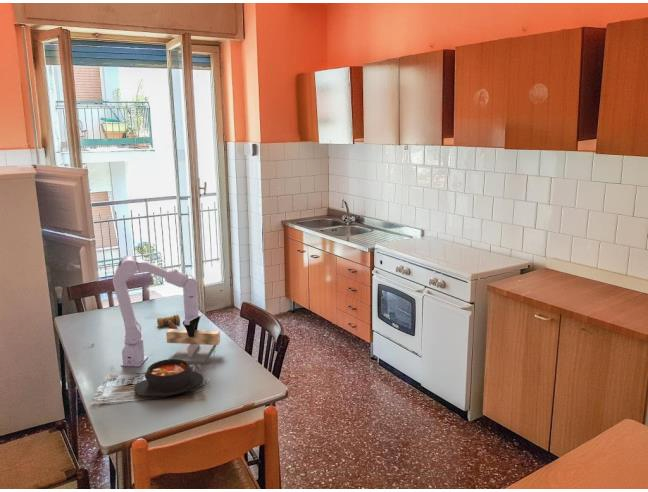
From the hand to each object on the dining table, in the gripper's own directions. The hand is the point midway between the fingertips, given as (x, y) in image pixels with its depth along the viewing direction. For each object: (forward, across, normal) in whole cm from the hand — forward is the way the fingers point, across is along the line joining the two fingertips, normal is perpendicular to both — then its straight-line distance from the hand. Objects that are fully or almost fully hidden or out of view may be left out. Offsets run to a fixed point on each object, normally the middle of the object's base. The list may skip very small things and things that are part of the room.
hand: (192, 334), depth 230 cm
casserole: (+9, -31, 0) cm, 32 cm away
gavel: (+9, +26, +17) cm, 33 cm away
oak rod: (+3, 0, 0) cm, 3 cm away
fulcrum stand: (+8, 0, 0) cm, 8 cm away
